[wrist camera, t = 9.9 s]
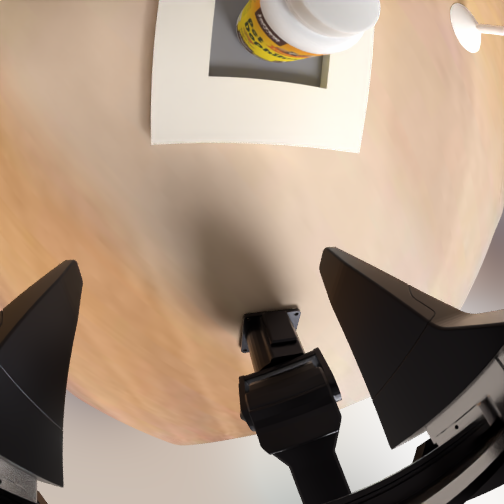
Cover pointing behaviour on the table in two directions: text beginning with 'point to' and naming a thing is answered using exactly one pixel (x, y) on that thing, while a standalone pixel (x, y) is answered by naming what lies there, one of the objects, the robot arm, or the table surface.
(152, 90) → the socket plate
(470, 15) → the champagne flute
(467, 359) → the robot arm
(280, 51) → the supplement bottle
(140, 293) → the table surface
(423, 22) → the table surface
